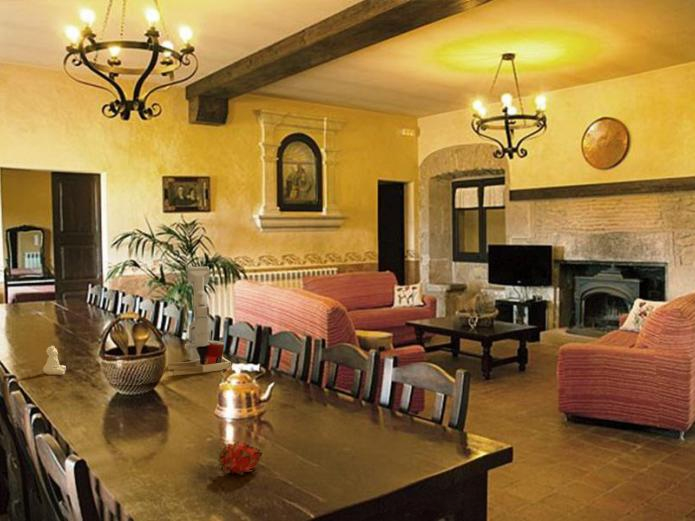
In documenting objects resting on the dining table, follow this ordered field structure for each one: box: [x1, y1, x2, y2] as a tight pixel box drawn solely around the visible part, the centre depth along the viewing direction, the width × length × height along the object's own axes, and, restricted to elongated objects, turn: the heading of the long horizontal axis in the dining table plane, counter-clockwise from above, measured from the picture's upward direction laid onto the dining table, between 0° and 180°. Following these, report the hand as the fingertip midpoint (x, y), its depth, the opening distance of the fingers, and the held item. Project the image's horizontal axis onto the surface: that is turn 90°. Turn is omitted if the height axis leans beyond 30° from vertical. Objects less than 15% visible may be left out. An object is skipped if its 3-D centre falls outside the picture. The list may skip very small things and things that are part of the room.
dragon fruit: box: [218, 441, 263, 476], centre depth 152 cm, size 8×8×12 cm
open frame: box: [195, 356, 232, 373], centre depth 266 cm, size 13×12×3 cm
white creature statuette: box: [42, 345, 67, 376], centre depth 257 cm, size 10×9×12 cm
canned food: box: [203, 339, 225, 365], centre depth 266 cm, size 8×8×11 cm
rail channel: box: [167, 360, 204, 377], centre depth 260 cm, size 13×12×2 cm
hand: (202, 363), depth 263 cm, fingers closed, pressing on canned food
